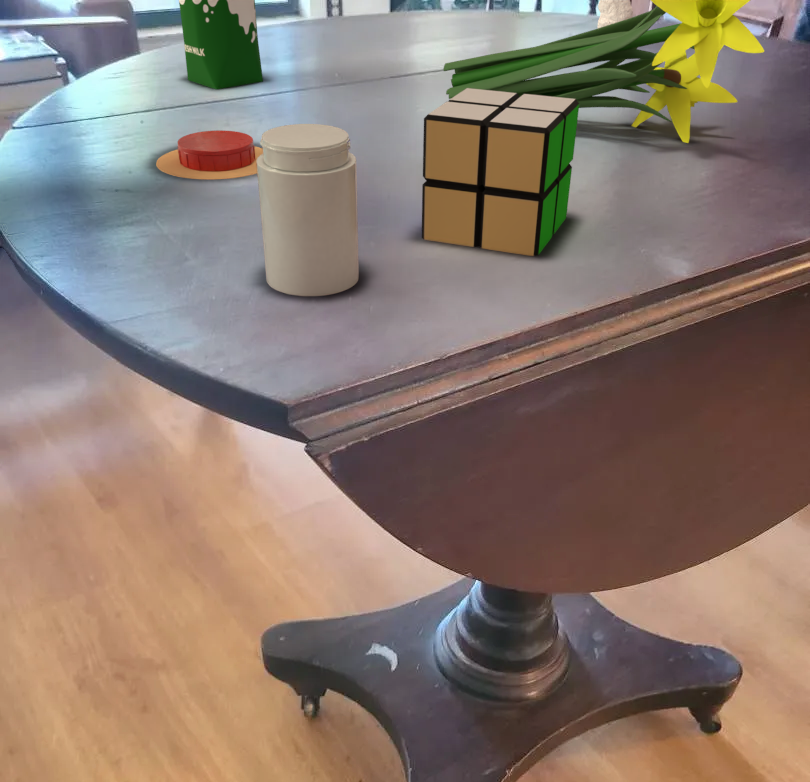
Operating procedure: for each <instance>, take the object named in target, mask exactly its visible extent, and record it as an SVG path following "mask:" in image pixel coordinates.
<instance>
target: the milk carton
mask: <svg viewBox="0 0 810 782" xmlns="http://www.w3.org/2000/svg"><path fill="white" fill-rule="evenodd" d="M178 5H179V11H180V20H181V28H182V35H183V44H184V53H185V56H184V57H185V64H186V75H187V76H186V77H187V81H189V82H192V83H195V84H198V85H200V86H201V85H202V86H204V87H208V88H210V89H213V90H222V89H228V88H229V89H230V88H234V87H239V86H247V85H251V84H256V83H262V82H264V78H263V77H264V76H263V69H262V62H261V53H260V46H259V36H258V25H257V12H256V11H257V10H256V0H178Z"/></svg>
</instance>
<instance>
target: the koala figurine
mask: <svg viewBox="0 0 810 782" xmlns="http://www.w3.org/2000/svg"><path fill="white" fill-rule="evenodd" d="M631 4H632V2H631V0H599V1H598V4H597V9H598V11H599V13H600V14H599V18H598V20H597V29H598V28H601V27H604V26H607V25H610V24H613V23H617V22H620V21H623V20H626V19H629V18H632V17H634V10H633V6H632V5H631Z"/></svg>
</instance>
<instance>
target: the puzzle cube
mask: <svg viewBox="0 0 810 782" xmlns="http://www.w3.org/2000/svg"><path fill="white" fill-rule="evenodd" d="M579 109H580V108H579V103H578V101H577V100H576V99H571V98H561V97H551V96H541V95H532V94H523V95H522V96H521V97H519V95H518V94H517V93H511V92H501V91H491V90H482V89H472V88H466V89H465V90H463V91H462V92H460V93H459V94H457V95H456V96H454V97H453V98H451V99H448V100H447V101H446V102H444V103H443V104H441V105H439V106H438V107H436V108H435V109H434V110H432V111H430V112H429V113H428V114H427V115H426V116H425V117H424V118H423V140H422V141H423V145H422V147H423V148H422V150H423V151H422V177H423V179H424V180H425V182H423V183H422V190H421V193H422V194H421V195H422V196H421V239H423V240H424V241H431V242H436V243H443V244H449V245H456V246H464V247H470V248H476V247H477V248H478V247H479V248H481V249H482V250H483V249H484V250H490V251H495V252H496V251H497V252H503V253H509V254H516V255H523V256H530V257H537V256H539V255H540V254H541V253H542V251H543V250H544V249H545V248H546V246H547V245H548V244H549V242H550V241H551V239H552V238H553V236H554V235H555V234H556V233H557V231H558V230H559V228H560V227H561V226H562V224H563V223H564V222H565V220H566V219H567V216H568V207H569V196H570V189H571V180H572V179H571V178H572V172H573V171H572V170H573V166H572V165H571V164H570V163H571V162H572V161H573V160H574V153H575V144H576V138H577V137H576V136H577V126H578V118H579V111H580V110H579Z"/></svg>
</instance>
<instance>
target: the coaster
mask: <svg viewBox="0 0 810 782" xmlns="http://www.w3.org/2000/svg"><path fill="white" fill-rule="evenodd" d="M254 148H255V159H254V161H253V163H251V164H250V165H248V166H245V167H243V168H239V169H234V170H227V171H198V170H194V169H189V168H187V167H184V166H183V165H182V164H180V160H179V154H178V148H177V149H174V150H171V151H169V152H166V153H164V154H162V155H161V156H160V157H158V159H157V160H156V164H155V165H156V168H157V169H158V170H159V171H160V172H162V173H164V174H167V175H170V176H174V177H178V178H183V179H191V180H227V179H237V178H238V179H239V178H244V177H248V176H253V175H257V164H256V160H257V158H258V157H259V156H260V155H261V154H263V149H262V147H259V146H255V145H254Z"/></svg>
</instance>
